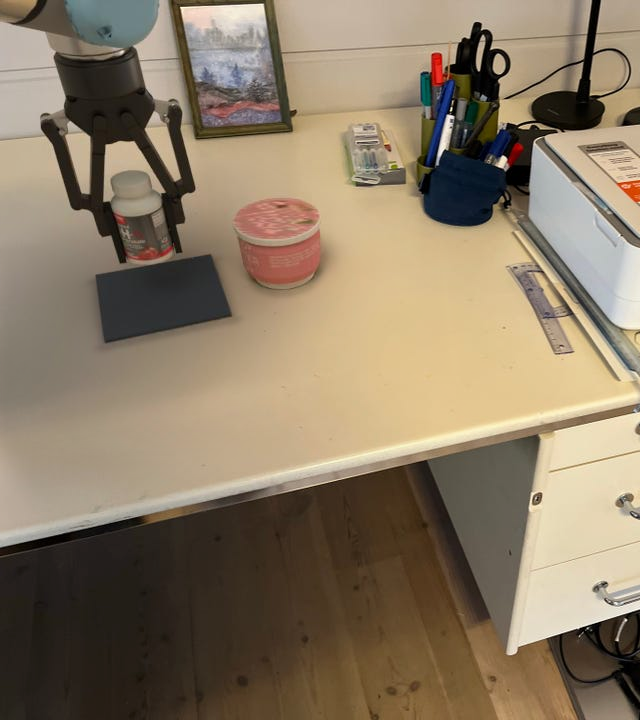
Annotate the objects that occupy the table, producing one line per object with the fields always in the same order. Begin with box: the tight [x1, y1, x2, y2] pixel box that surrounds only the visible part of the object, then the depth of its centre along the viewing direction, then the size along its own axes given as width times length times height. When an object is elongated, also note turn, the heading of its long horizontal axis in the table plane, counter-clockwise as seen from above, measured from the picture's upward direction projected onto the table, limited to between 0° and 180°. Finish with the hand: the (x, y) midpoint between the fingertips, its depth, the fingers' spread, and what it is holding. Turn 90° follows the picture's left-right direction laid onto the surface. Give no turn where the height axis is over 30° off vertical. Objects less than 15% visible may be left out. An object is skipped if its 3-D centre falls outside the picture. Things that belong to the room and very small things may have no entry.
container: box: [232, 197, 322, 290], centre depth 94 cm, size 10×10×8 cm
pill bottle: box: [110, 169, 175, 266], centre depth 85 cm, size 5×5×10 cm
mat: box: [95, 253, 233, 344], centre depth 92 cm, size 14×14×1 cm
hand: (150, 252), depth 88 cm, fingers closed on pill bottle, 5 cm apart
